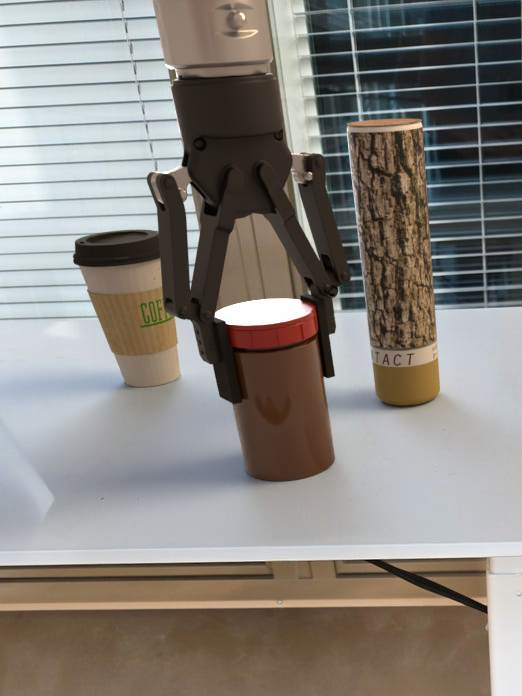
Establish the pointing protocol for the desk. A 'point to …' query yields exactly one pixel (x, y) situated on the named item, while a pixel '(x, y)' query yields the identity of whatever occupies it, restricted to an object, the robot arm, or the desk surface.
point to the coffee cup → (131, 303)
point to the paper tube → (395, 257)
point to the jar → (283, 411)
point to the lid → (269, 322)
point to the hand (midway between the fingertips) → (278, 386)
